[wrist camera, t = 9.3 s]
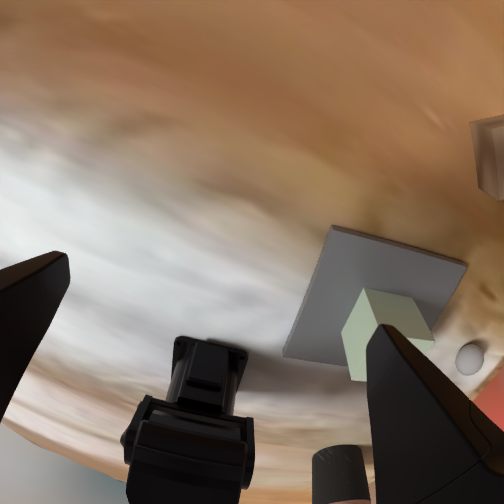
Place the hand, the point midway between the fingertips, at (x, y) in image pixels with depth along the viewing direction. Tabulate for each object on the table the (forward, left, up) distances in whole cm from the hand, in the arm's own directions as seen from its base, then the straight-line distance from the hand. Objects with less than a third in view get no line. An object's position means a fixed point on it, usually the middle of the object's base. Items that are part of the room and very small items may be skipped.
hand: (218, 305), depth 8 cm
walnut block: (+8, -17, -13) cm, 23 cm away
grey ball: (-11, -25, -11) cm, 30 cm away
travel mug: (-34, -20, -13) cm, 42 cm away
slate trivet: (-8, -12, -13) cm, 19 cm away
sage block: (-8, -12, -12) cm, 19 cm away
